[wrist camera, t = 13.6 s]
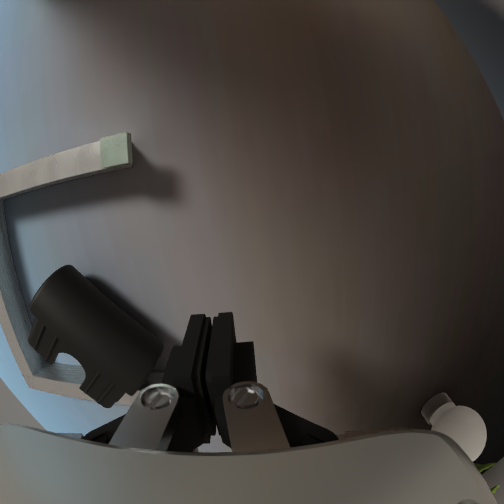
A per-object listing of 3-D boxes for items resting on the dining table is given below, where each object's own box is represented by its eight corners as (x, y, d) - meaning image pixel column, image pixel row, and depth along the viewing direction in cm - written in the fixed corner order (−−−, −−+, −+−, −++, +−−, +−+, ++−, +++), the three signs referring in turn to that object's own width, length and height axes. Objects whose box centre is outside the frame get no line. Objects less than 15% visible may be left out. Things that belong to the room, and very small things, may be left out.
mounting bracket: (-21, 189, 19) (-44, 193, 16) (145, 138, 19) (126, 132, 16) (28, 371, 25) (13, 388, 21) (186, 387, 25) (179, 414, 21)
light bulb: (414, 428, 28) (446, 485, 18) (410, 402, 27) (451, 466, 16) (454, 403, 28) (492, 453, 17) (455, 373, 26) (502, 427, 16)
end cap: (173, 327, 23) (152, 376, 17) (135, 372, 25) (112, 419, 18) (84, 252, 22) (38, 278, 15) (56, 306, 23) (16, 339, 16)
